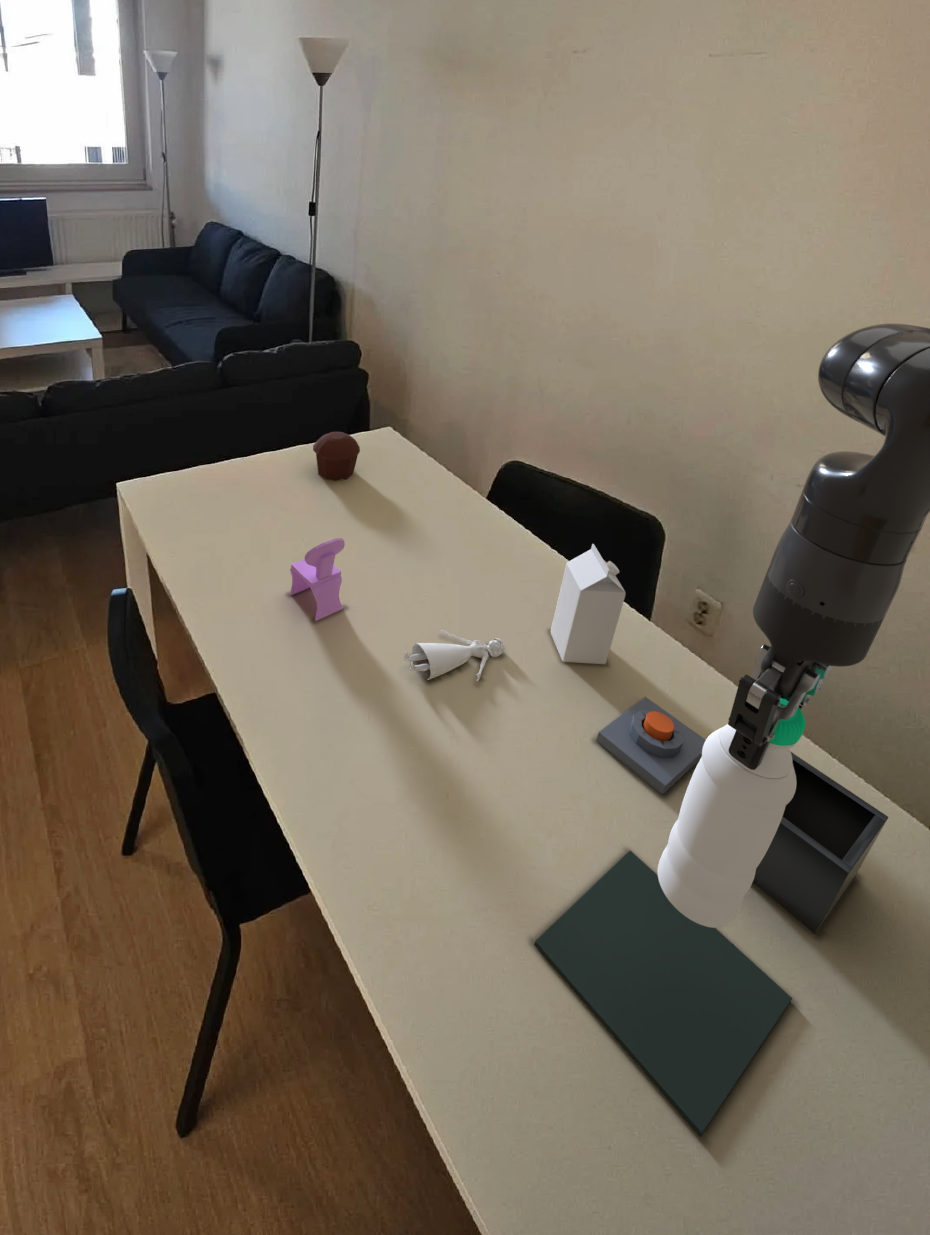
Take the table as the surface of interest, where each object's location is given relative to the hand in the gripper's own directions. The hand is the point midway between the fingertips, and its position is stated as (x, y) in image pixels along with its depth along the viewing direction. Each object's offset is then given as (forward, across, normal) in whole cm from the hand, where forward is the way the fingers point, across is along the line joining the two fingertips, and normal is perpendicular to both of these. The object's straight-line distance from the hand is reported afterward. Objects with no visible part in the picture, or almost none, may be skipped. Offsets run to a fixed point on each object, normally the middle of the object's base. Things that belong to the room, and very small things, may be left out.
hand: (758, 744), depth 59 cm
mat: (+34, -1, 0) cm, 34 cm away
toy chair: (+34, +2, +67) cm, 75 cm away
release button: (+30, +25, +16) cm, 42 cm away
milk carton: (+34, +33, +34) cm, 58 cm away
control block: (+34, +25, +16) cm, 45 cm away
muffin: (+34, +34, +104) cm, 115 cm away
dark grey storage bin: (+34, +23, -2) cm, 41 cm away
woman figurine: (+34, +13, +43) cm, 56 cm away
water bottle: (+21, 0, 0) cm, 21 cm away
